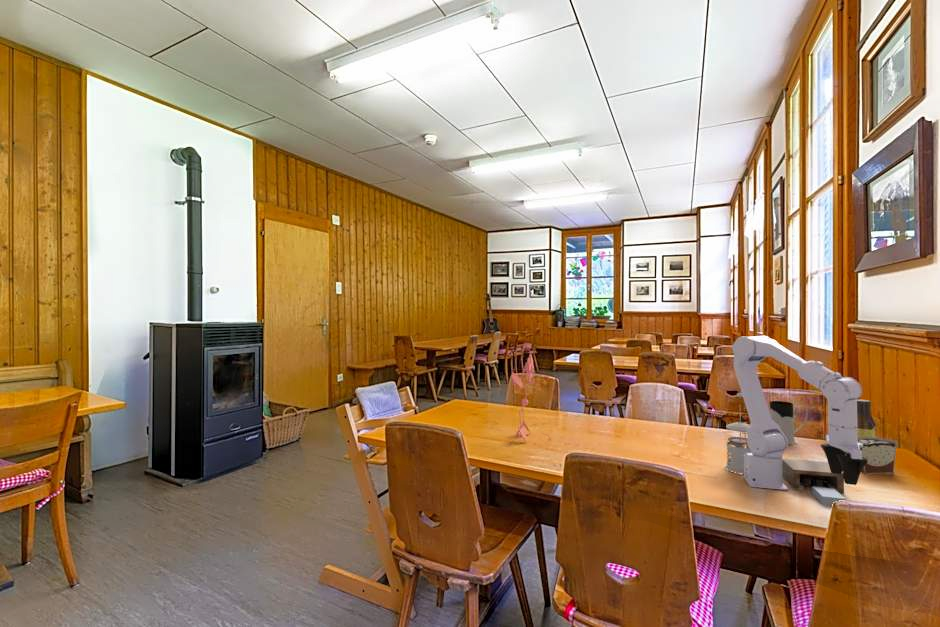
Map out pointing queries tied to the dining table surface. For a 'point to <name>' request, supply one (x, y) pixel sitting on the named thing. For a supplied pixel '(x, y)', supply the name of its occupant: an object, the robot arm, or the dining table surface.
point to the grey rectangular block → (826, 495)
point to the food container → (878, 454)
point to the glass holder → (785, 418)
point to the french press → (737, 446)
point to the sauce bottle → (865, 420)
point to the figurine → (517, 380)
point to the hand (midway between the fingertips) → (843, 478)
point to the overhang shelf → (811, 474)
